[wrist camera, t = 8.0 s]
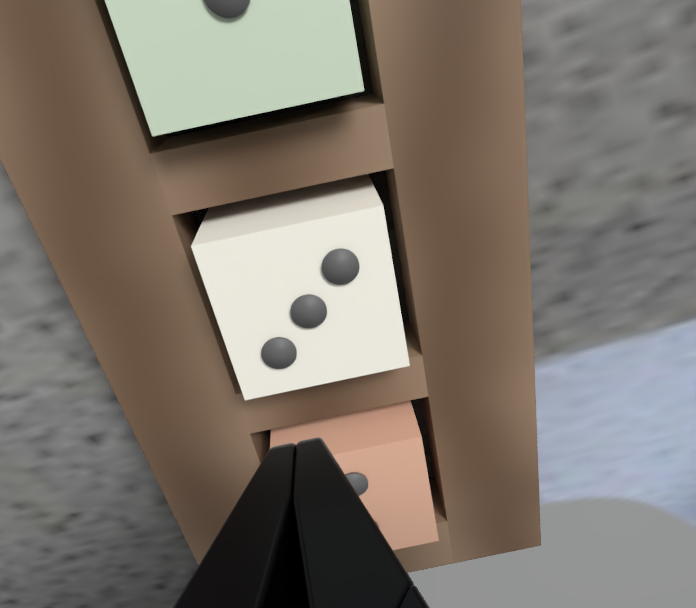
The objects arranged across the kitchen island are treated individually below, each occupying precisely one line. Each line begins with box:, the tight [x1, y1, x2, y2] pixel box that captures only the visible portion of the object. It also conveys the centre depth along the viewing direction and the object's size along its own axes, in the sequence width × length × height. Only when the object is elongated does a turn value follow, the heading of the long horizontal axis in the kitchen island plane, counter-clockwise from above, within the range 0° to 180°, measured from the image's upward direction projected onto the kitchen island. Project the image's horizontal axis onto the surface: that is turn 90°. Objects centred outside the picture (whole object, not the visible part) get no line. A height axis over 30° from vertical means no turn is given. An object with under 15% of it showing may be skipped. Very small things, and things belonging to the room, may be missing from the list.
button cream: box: [191, 174, 410, 400], centre depth 15 cm, size 4×4×3 cm
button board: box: [0, 0, 541, 573], centre depth 15 cm, size 12×24×2 cm, turn 11°
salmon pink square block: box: [270, 400, 439, 550], centre depth 18 cm, size 4×4×3 cm
